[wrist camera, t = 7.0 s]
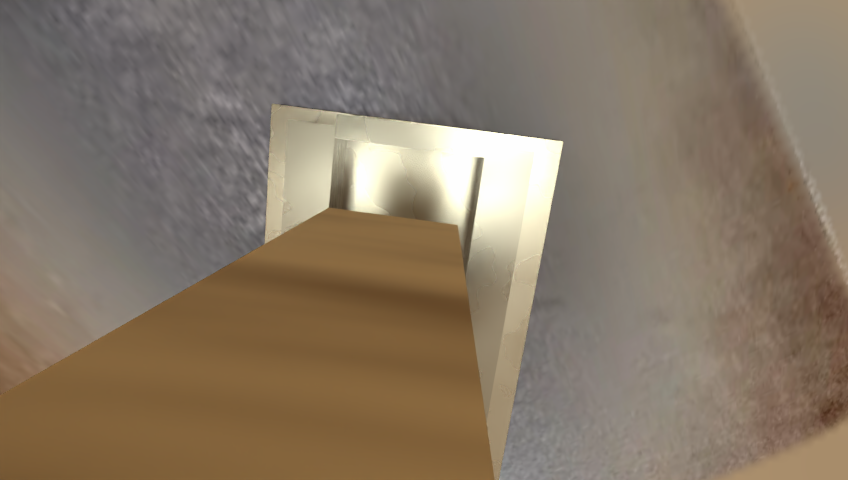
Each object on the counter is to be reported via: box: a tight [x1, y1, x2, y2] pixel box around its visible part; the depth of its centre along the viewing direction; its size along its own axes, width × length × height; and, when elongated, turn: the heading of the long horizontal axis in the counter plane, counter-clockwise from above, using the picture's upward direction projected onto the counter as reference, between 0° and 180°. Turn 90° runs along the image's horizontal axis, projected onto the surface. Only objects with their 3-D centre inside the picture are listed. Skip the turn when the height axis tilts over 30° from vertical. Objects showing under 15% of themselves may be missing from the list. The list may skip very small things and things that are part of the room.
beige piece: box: [265, 104, 563, 480], centre depth 18 cm, size 15×11×3 cm
